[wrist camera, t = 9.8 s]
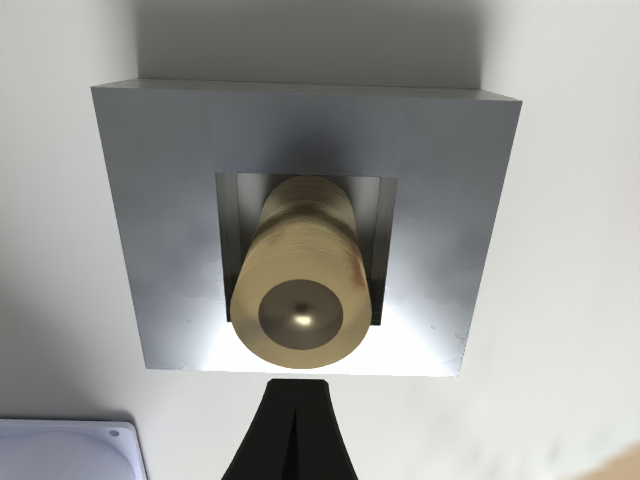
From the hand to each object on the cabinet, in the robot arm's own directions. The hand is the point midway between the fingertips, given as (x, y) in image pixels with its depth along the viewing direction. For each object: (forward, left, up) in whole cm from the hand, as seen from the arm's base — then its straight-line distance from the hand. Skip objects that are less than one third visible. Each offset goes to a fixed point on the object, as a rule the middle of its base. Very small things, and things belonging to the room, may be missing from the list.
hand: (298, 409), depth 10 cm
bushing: (0, +1, -9) cm, 9 cm away
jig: (0, +1, -9) cm, 9 cm away
